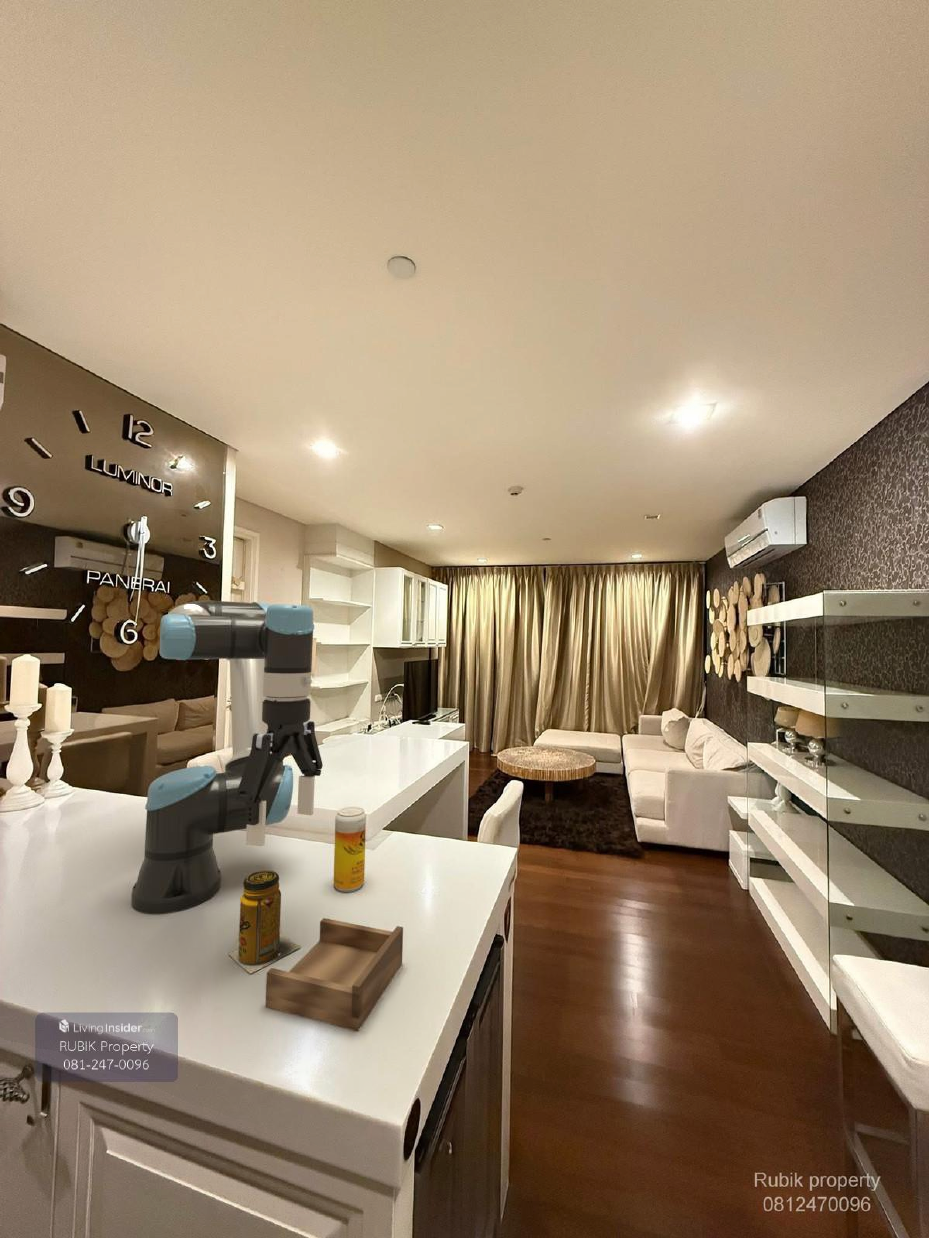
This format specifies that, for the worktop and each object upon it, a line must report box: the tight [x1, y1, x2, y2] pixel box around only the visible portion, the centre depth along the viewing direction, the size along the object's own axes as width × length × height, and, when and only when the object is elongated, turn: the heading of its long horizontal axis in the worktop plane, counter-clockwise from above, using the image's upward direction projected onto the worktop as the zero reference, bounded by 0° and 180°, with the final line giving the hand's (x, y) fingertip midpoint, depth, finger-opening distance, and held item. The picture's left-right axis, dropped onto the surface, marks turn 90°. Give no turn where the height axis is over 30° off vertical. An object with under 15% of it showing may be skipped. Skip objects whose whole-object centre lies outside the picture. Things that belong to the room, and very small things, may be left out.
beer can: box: [333, 806, 367, 893], centre depth 101 cm, size 6×6×15 cm
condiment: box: [227, 869, 301, 975], centre depth 80 cm, size 7×8×12 cm
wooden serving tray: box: [264, 917, 404, 1032], centre depth 72 cm, size 14×14×6 cm
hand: (282, 828), depth 81 cm, fingers open, 13 cm apart
